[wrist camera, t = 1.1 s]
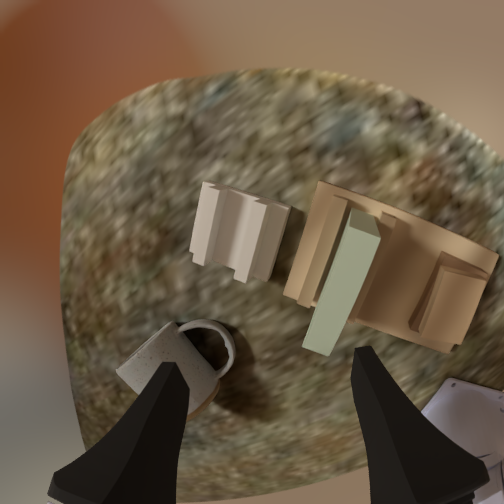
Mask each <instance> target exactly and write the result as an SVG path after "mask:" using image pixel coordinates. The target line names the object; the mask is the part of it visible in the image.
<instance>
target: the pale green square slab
mask: <svg viewBox="0 0 504 504" xmlns="http://www.w3.org/2000/svg"><path fill="white" fill-rule="evenodd" d="M380 240H381V237H380V234H379V231H378V228H377V225H376V222H375V219H374V216H373V215H371V214H369V213H366V212H363V211H360V210H358V209H355V208H351V211H350V214H349V217H348V220H347V223H346V226H345V229H344V232H343V235H342V238H341V240H340V243H339V246H338V249H337V252H336V254H335V257H334V260H333V263H332V265H331V268H330V271H329V273H328V276H327V279H326V281H325V284H324V286H323V289H322V291H321V294H320V297H319V300H318V303H317V306H316V308H315V311H314V314H313V317H312V320H311V323H310V326H309V328H308V331H307V334H306V337H305V339H304V342H303V345H302V347H304V348H307V349H310V350H312V351H315V352H318V353H320V354H323V355H326V356H329V355H330V353H331V351H332V349H333V347H334V345H335V343H336V341H337V339H338V337H339V335H340V333H341V331H342V329H343V327H344V325H345V322H346V320H347V318H348V316H349V314H350V312H351V309H352V307H353V305H354V303H355V301H356V298H357V296H358V294H359V292H360V289H361V287H362V285H363V282H364V280H365V277H366V275H367V273H368V270H369V268H370V265H371V263H372V260H373V258H374V255H375V253H376V250H377V247H378V245H379V242H380Z"/></svg>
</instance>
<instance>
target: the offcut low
mask: <svg viewBox="0 0 504 504" xmlns="http://www.w3.org/2000/svg"><path fill="white" fill-rule="evenodd" d="M440 265H442V266H446V267H450V268H454V269H458V270H462V271H466V272H470V273H474V274H478V275H481V276H482V277H483V278H484V279H485V280H486V278H487V276H488V274H487V273H486V272H485V271H484V270H483V269H481V268H479V267H477V266H475V265H473V264H471V263H468V262H466V261H464V260H462V259H460V258H457V257H455V256H453V255H451V254H448V253H446V252H444V251H441V253H440V255H439V258H438V260H437V262H436V265H435V267H434V269H433V272H432V274H431V276H430V278H429V280H428V283H427V285H426V287H425V289H424V291H423V293H422V295H421V297H420V299H419V301H418V303H417V305H416V307H415V309H414V311H413V313H412V315H411V317H410V319H409V321H408V324H409V328H410V330H412V331H415V332H418V333H419V326H420V324H421V321H422V318H423V316H424V313H425V310H426V308H427V305H428V302H429V299H430V296H431V293H432V291H433V287H434V284H435V281H436V278H437V275H438V272H439V268H440ZM446 343H448V342H446ZM449 344H452V343H449Z"/></svg>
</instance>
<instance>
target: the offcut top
mask: <svg viewBox="0 0 504 504" xmlns="http://www.w3.org/2000/svg"><path fill="white" fill-rule="evenodd" d="M485 284H486V280H485V279H484V278H483V277H482V276H481V275H478V274H474V273H470V272H466V271H462V270H458V269H454V268H450V267H446V266H442V265H440V268H439V272H438V275H437V278H436V281H435V284H434V287H433V291H432V293H431V296H430V299H429V302H428V305H427V308H426V310H425V313H424V316H423V318H422V321H421V324H420V326H419V333H420V337H421V338H426V339H431V340H437V341H442V342H448V343H453V344H459V345H461V343H462V341H463V339H464V337H465V334H466V332H467V330H468V328H469V325H470V323H471V321H472V318H473V316H474V313H475V311H476V308H477V306H478V303H479V301H480V298H481V295H482V292H483V290H484V287H485Z"/></svg>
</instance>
